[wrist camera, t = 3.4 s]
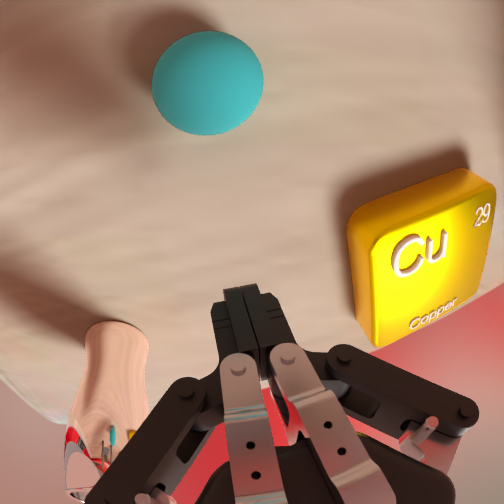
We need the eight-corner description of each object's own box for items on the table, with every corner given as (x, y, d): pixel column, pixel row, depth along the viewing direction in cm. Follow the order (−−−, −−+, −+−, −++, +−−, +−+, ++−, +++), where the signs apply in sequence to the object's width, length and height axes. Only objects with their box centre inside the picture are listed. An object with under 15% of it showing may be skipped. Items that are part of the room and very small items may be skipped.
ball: (253, 119, 18) (279, 139, 14) (162, 132, 17) (155, 156, 13) (247, 33, 15) (273, 21, 11) (151, 44, 14) (139, 34, 10)
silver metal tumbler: (67, 337, 25) (44, 491, 12) (115, 304, 24) (101, 486, 11) (119, 373, 28) (119, 512, 16) (169, 347, 28) (184, 505, 15)
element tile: (354, 325, 33) (373, 358, 29) (340, 209, 24) (370, 240, 20) (457, 273, 33) (480, 297, 29) (468, 161, 24) (503, 181, 20)
